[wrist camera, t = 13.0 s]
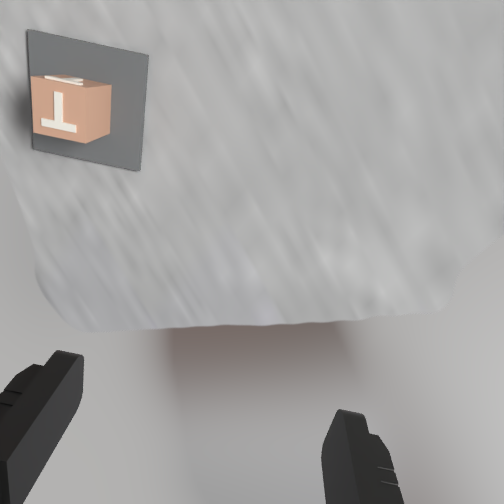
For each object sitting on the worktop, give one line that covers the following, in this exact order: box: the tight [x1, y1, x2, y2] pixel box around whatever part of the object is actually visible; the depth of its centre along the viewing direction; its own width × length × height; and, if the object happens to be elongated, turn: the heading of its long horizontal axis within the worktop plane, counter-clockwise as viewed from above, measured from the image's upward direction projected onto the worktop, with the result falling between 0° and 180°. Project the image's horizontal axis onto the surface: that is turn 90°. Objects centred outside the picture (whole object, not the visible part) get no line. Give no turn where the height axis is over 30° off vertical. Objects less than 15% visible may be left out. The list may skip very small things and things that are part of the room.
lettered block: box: [31, 75, 112, 143], centre depth 39 cm, size 5×5×6 cm
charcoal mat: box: [27, 29, 149, 171], centre depth 42 cm, size 12×12×1 cm
